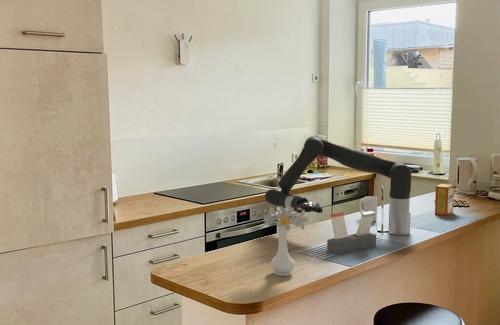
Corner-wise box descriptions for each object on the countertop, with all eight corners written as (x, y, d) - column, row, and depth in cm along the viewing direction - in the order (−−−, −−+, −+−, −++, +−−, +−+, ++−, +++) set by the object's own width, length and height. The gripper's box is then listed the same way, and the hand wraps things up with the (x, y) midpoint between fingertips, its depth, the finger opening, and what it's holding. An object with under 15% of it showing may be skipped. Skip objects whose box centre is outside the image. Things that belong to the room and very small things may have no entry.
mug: (379, 219, 296) (379, 197, 295) (373, 222, 291) (373, 199, 289) (361, 217, 302) (362, 195, 301) (355, 219, 297) (356, 197, 296)
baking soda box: (446, 216, 304) (447, 186, 302) (434, 214, 308) (435, 185, 306) (452, 213, 311) (454, 184, 309) (441, 211, 315) (442, 183, 313)
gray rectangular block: (366, 242, 253) (366, 230, 253) (376, 245, 248) (376, 233, 248) (327, 251, 241) (327, 238, 240) (336, 254, 236) (337, 241, 235)
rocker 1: (345, 237, 243) (340, 212, 244) (348, 236, 241) (343, 212, 243) (335, 239, 240) (330, 214, 241) (337, 239, 238) (332, 214, 240)
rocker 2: (366, 232, 249) (372, 210, 245) (368, 234, 248) (374, 212, 244) (356, 234, 246) (362, 212, 242) (358, 236, 245) (364, 214, 241)
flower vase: (312, 271, 214) (313, 206, 211) (279, 283, 202) (279, 214, 198) (286, 263, 224) (286, 201, 220) (253, 274, 211) (253, 208, 208)
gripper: (285, 197, 260) (309, 203, 246) (307, 194, 267) (332, 200, 253) (285, 213, 261) (309, 220, 247) (307, 210, 268) (332, 217, 254)
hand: (321, 210), depth 250 cm, fingers closed
